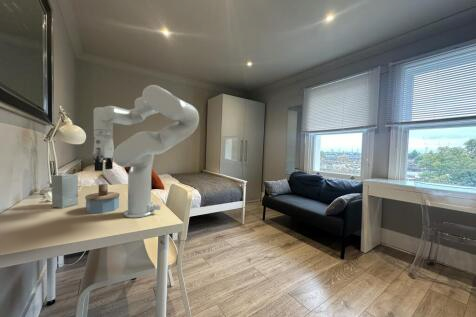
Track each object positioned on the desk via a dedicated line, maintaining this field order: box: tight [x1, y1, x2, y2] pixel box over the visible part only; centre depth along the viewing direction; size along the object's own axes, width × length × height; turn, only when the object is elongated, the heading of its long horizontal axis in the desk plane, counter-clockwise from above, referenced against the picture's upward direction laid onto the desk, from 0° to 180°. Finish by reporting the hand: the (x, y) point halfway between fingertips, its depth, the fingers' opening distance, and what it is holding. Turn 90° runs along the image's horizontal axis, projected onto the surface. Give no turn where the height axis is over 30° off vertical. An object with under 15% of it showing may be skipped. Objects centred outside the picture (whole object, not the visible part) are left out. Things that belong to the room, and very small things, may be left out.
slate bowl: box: [85, 196, 120, 214], centre depth 96 cm, size 12×12×6 cm
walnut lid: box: [84, 183, 120, 201], centre depth 96 cm, size 14×14×6 cm
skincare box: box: [51, 173, 79, 209], centre depth 100 cm, size 8×7×16 cm
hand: (104, 169), depth 95 cm, fingers open, 9 cm apart
